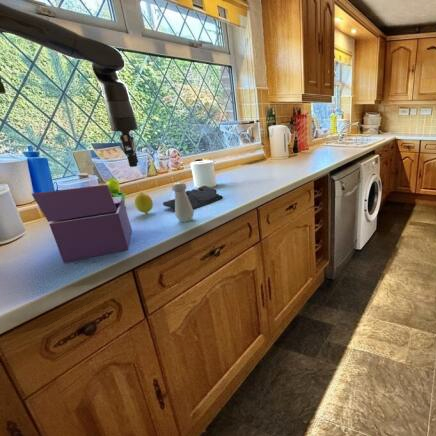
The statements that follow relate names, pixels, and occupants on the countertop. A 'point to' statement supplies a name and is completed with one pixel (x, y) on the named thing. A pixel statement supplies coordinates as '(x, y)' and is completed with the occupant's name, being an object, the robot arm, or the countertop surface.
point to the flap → (75, 202)
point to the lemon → (143, 203)
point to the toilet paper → (203, 173)
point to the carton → (93, 234)
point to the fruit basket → (115, 188)
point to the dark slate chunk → (198, 197)
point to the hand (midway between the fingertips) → (134, 164)
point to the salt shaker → (182, 203)
